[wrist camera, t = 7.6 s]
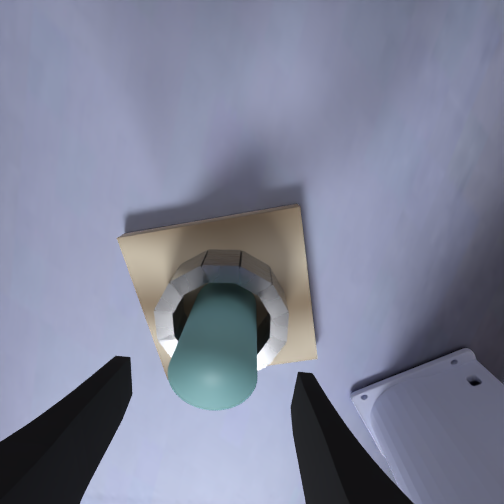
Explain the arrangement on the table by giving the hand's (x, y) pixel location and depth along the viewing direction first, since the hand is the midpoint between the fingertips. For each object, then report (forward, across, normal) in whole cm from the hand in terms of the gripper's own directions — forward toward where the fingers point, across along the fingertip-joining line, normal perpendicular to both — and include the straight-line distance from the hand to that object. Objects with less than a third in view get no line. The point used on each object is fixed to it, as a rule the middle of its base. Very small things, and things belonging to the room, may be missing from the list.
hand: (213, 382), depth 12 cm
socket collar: (+8, 0, 0) cm, 8 cm away
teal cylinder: (+6, 0, 0) cm, 6 cm away
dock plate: (+8, 0, 0) cm, 8 cm away
